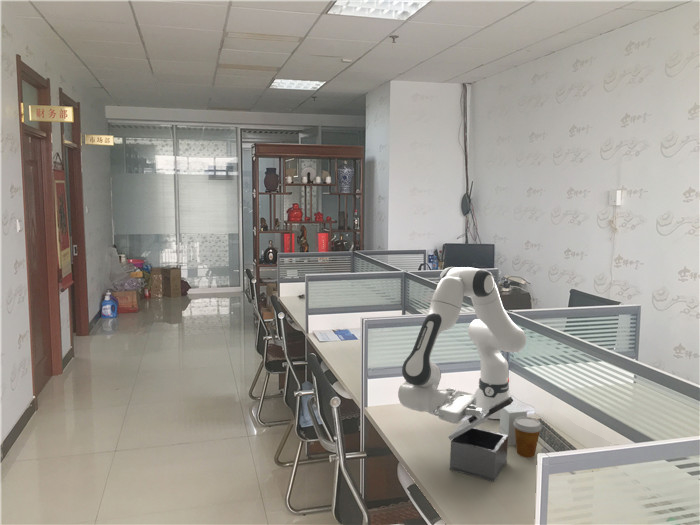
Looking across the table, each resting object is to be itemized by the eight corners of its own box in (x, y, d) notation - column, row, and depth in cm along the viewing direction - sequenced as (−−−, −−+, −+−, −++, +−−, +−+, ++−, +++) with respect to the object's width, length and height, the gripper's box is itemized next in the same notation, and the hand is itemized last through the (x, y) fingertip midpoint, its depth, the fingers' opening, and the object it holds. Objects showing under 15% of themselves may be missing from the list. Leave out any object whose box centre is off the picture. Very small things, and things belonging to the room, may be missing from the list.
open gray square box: (464, 451, 203) (465, 425, 201) (506, 462, 195) (508, 435, 194) (449, 469, 190) (451, 441, 189) (493, 481, 182) (495, 452, 181)
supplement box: (525, 444, 210) (527, 411, 208) (507, 445, 208) (509, 412, 207) (516, 435, 217) (518, 404, 215) (498, 436, 215) (500, 405, 214)
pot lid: (465, 424, 201) (461, 418, 202) (518, 395, 191) (514, 389, 191) (450, 440, 189) (446, 434, 189) (506, 409, 178) (501, 403, 178)
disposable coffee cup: (541, 451, 204) (543, 419, 203) (537, 462, 196) (539, 429, 194) (514, 445, 209) (516, 414, 207) (509, 456, 200) (511, 423, 199)
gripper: (431, 404, 188) (471, 413, 181) (453, 386, 205) (490, 394, 198) (430, 422, 188) (470, 432, 182) (452, 403, 206) (489, 411, 199)
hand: (481, 412), depth 190 cm, fingers closed
